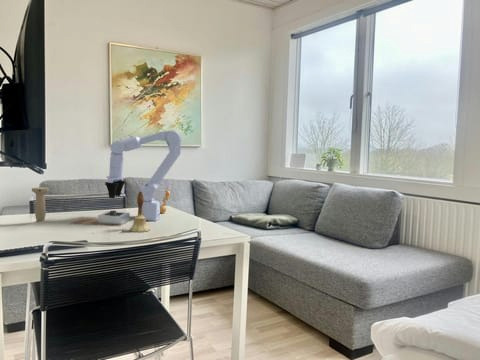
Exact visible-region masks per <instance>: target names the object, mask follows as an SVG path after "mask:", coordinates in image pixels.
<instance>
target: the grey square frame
mask: <svg viewBox="0 0 480 360" xmlns="http://www.w3.org/2000/svg"><path fill="white" fill-rule="evenodd" d="M130 213H131V212H123V211H116V216H113V215H110V211H106V212H103V213H101V214H98V215H97V219H98V224H114V225H122V224H123V225H125V224H126V222H127V221H129V220H130V217H131V215H130ZM129 222H130V221H129ZM124 223H125V224H124ZM127 223H128V222H127ZM123 225H122V226H123Z"/></svg>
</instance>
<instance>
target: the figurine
mask: <svg viewBox="0 0 480 360" xmlns="http://www.w3.org/2000/svg"><path fill="white" fill-rule="evenodd" d="M164 192H165V194H164V195H163V196H162V198H163V199H162V203H163V204H162V205H160V214H164V213H166V212H167V207H166V204H167V201H168V200H169V198H170V196H171V191H170V190H167V189H165V191H164Z"/></svg>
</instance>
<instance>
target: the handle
mask: <svg viewBox="0 0 480 360" xmlns="http://www.w3.org/2000/svg"><path fill="white" fill-rule="evenodd" d="M49 191H50V188H49V187H42V186H41V187H31V192H32V193H35V208H34V209H35V211H34V214H35V219H36V222H39V223H41V222H45V220H46V213H47V212H46V211H47V210H46V195H45V194H46V193H48V192H49Z"/></svg>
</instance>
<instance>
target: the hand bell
mask: <svg viewBox="0 0 480 360" xmlns="http://www.w3.org/2000/svg"><path fill="white" fill-rule="evenodd" d="M136 197H137V199H136V200H137V201H136V202H137V208H138V209H137V215H136V216H135V217H134V218H133V222H132V226H131V227H129V231H130V232H133V233H145V232H146V233H147V232H149V231H151V229H150V227H149V226H148V224H147V220H146V219H145V217H144V216H142V205H143V201H144V197H143V194H142V192H140V191H138V194H137V196H136Z"/></svg>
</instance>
